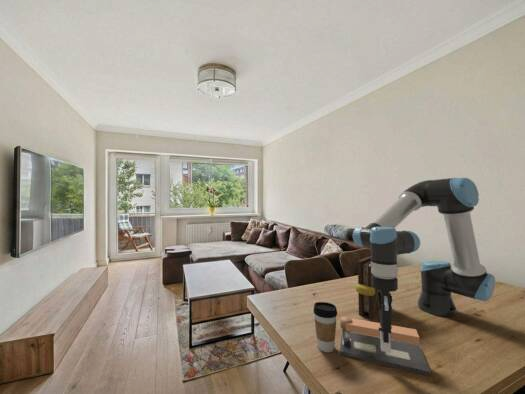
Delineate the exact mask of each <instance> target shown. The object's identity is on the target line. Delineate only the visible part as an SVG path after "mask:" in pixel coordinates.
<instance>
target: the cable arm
mask: <svg viewBox="0 0 525 394" xmlns="http://www.w3.org/2000/svg"><path fill="white" fill-rule="evenodd" d="M339 323H340V328H341V330H342V329H344V330H346V331H350V332H353V333H358V334H363V335H368V336H373V337H378V338H381V336H380V331H379V328H381V326H380V322H376V321H369V320H364V319H363V320H362V319H357V318H353V317H347V316H341V317H340V322H339ZM391 326H392V329H391V333H390V338H391V340H394V341H399V342H404V343H409V344H414V345H419V346H420V344H421V343H420V342H421V341H420V336H419V334H418V330H417V329H415V328H409V327H404V326H398V325H392V324H391Z"/></svg>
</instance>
